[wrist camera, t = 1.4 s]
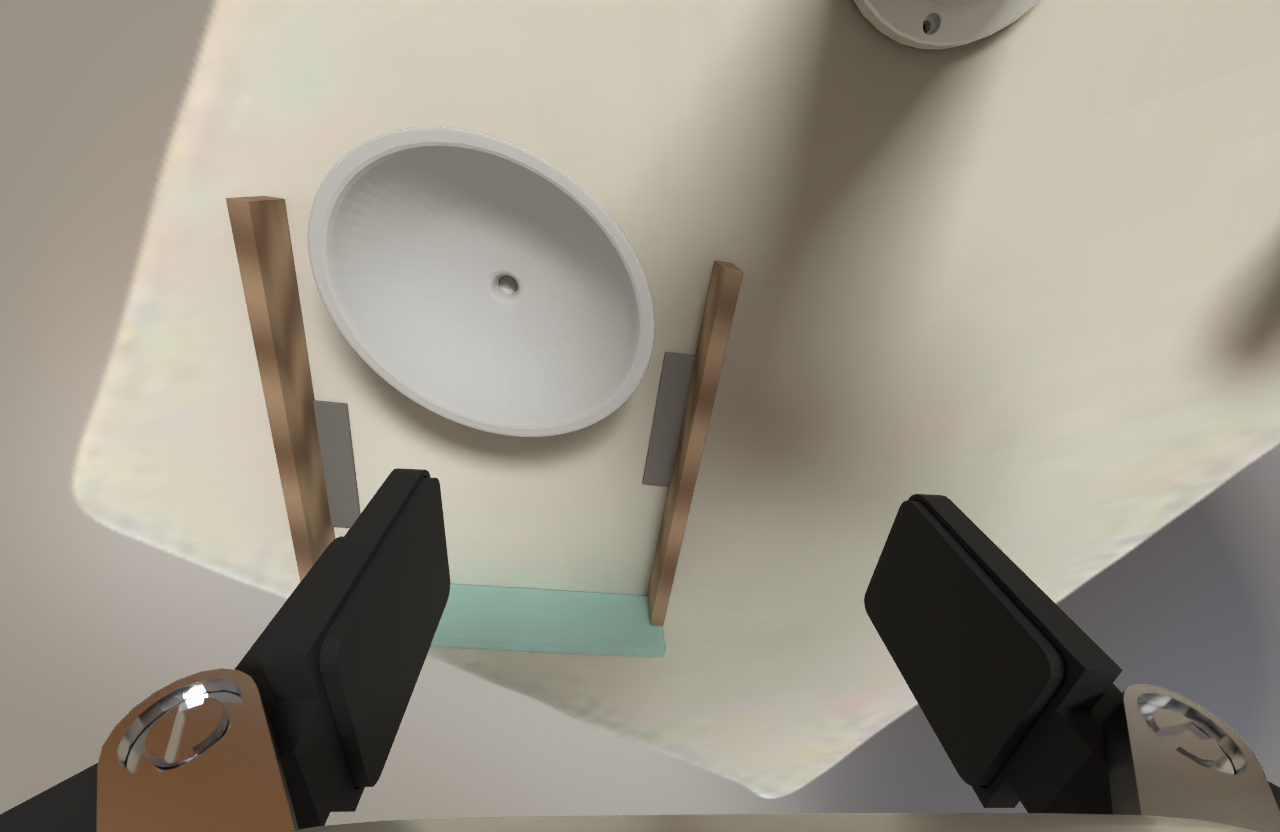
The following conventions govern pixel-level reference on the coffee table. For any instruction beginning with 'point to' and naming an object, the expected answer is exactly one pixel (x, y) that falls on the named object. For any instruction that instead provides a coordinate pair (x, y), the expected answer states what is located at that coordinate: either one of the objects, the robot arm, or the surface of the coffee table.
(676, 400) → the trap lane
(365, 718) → the robot arm
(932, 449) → the coffee table surface
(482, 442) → the coffee table surface
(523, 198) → the dish
